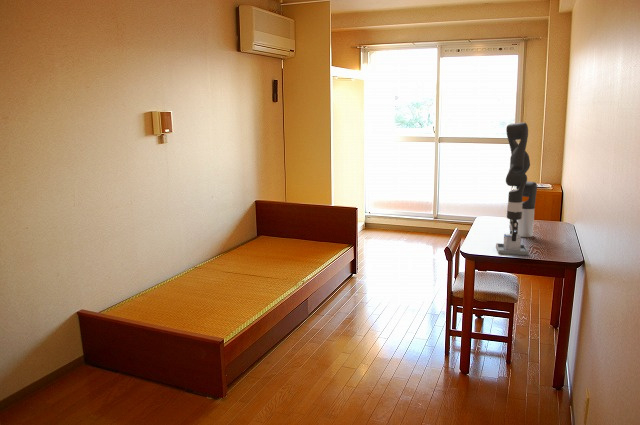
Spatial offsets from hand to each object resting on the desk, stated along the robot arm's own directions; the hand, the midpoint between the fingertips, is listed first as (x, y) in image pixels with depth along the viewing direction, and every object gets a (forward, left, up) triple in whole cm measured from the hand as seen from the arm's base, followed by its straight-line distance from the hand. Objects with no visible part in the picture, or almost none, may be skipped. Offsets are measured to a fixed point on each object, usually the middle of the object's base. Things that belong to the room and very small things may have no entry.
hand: (512, 239), depth 285 cm
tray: (0, 0, -7) cm, 7 cm away
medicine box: (0, 0, -6) cm, 6 cm away
